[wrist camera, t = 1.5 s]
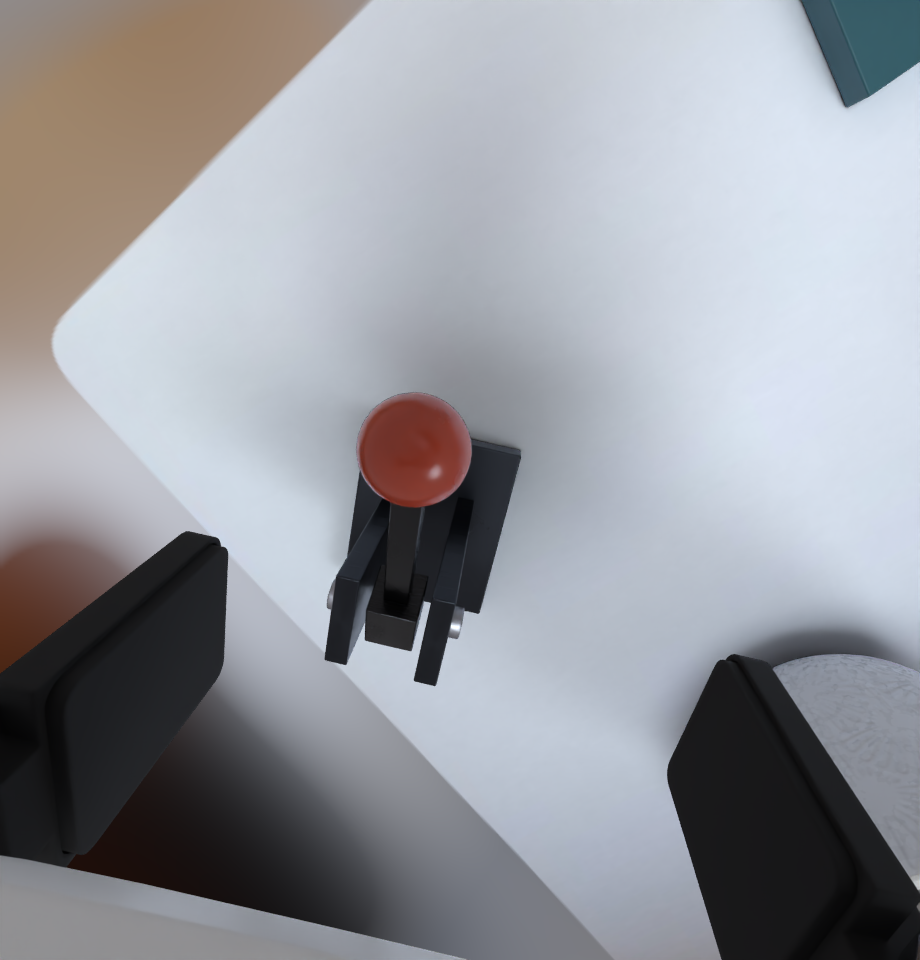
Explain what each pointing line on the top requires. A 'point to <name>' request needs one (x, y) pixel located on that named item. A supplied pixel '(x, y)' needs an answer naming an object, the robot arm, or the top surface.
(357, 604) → the lever base
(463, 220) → the top surface
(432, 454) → the lever
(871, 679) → the planter
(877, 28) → the block
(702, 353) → the top surface
